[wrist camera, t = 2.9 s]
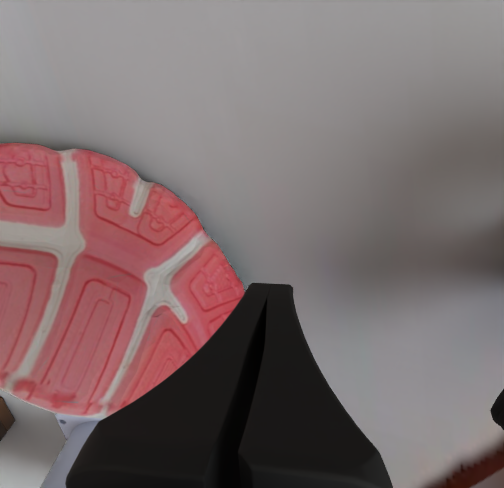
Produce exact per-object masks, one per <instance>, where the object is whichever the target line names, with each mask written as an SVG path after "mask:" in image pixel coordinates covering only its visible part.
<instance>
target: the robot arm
mask: <svg viewBox="0 0 504 488" xmlns="http://www.w3.org/2000/svg"><path fill="white" fill-rule="evenodd" d="M55 417H56V419H57V421H58V423H59V426H60V428H61V430H62V432H63V434H64V436H65V438H66V440H67V441H66V443H65V445H64V446H63V448H62V450H61V452H60V453H59V455H58V457H57V459H56V460H55V462H54V464H53V466H52V467H51V469H50V471H49V473H48V474H47V476H46V478H45V480H44V481H43V483H42V485H41V487H40V488H393V486H392V483H391V480H390V477H389V475H388V472H387V470H386V467H385V465H384V462H383V460H382V458H381V455H380V453H379V451H378V450H377V449H376V448H375V446H374V445H373V444H372V443H371V442H370V441H369V440H368V438H367V437H366V436H365V435H364V433H363V432H362V431H361V430H360V429H359V427H358V426H357V425H356V424H355V422H354V421H353V420H352V418H351V417H350V416H349V414H348V413H347V412H346V410H345V409H344V407H343V406H342V404H341V403H340V401H339V400H338V398H337V397H336V395H335V394H334V392H333V391H332V389H331V388H330V386H329V385H328V383H327V381H326V379H325V378H324V376H323V374H322V373H321V371H320V369H319V367H318V365H317V363H316V361H315V359H314V357H313V355H312V353H311V351H310V349H309V346H308V344H307V342H306V339H305V337H304V334H303V331H302V329H301V326H300V323H299V320H298V317H297V313H296V309H295V305H294V300H293V287H292V286H291V285H286V284H265V283H252V284H251V285H249V287H248V289H247V290H246V292H245V293H244V295H243V297H242V298H241V300H240V301H239V302H238V304H237V305H236V307H235V308H234V309H233V311H232V312H231V313H230V315H229V316H228V317H227V319H226V320H225V321H224V322H223V324H222V325H221V326H220V327H219V328H218V329H217V331H216V332H215V333H214V334H213V335H212V336H211V337H210V339H209V340H208V341H207V342H206V343H205V344H204V345H203V346H202V347H201V348H200V349H199V350H198V351H197V352H196V353H195V354H194V355H193V356H192V357H191V358H190V359H189V360H188V361H186V362H185V363H184V364H183V365H182V366H181V367H179V368H178V369H177V370H176V371H175V372H174V373H172V374H171V375H170V376H169V377H167V378H166V379H165V380H164V381H162V382H161V383H160V384H158V385H157V386H155V387H154V388H152V389H151V390H150V391H148V392H147V393H145V394H144V395H143V396H141V397H140V398H138V399H137V400H135V401H133V402H132V403H130V404H129V405H127V406H125V407H123V408H122V409H120V410H118V411H116V412H115V413H113V414H111V415H110V416H108V417H106V418H104V419H100V418H85V417H73V416H68V415H62V414H57V413H56V414H55Z"/></svg>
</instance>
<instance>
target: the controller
mask: <svg viewBox="0 0 504 488" xmlns="http://www.w3.org/2000/svg"><path fill="white" fill-rule="evenodd" d="M491 415H492V418H493V420H494V421H495V422H496V423H497V424H498V425H499V426H501V427H502V429H503V430H504V389H503V391H502V392H501V393H500V395H499V396H498V397H497V399H496V401H495V403H494V404H493V406H492V408H491Z"/></svg>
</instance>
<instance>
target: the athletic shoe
mask: <svg viewBox="0 0 504 488" xmlns="http://www.w3.org/2000/svg"><path fill="white" fill-rule="evenodd" d="M244 293H245V291H244V288H243V285H242V282H241V281H240V280H239V278H238V277H237V276H236V274H235V271H234V270H233V268H232V267H231V266H230V264H229V263H228V261H227V259H226V257H225V256H224V254H223V253H222V251H221V249H220V248H219V246H218V244H217V243H215V242H214V241H213V240H212V239H211V238H210V237H209V236H208V235H207V234H206V232H205V231H204V230H203V228H202V226H201V224H200V222H199V220H198V218H197V216H196V215H195V213H194V212H193V211H192V210H191V209H190V208H189V207H188V206H187V205H186V204H185V203H184V202H183V201H182V200H180V199H179V198H178V197H177V196H176V195H175V194H174V193H173V192H171V191H170V190H168V189H167V188H165V187H164V186H162V185H160V184H157V183H154V182H149V183H148V182H146V181H144V180H141V178H140V177H139V176H138V174H137V173H136V171H135V170H133V169H132V168H131V167H129V166H128V165H126V164H124V163H122V162H120V161H118V160H116V159H114V158H112V157H110V156H106V155H103V154H100V153H97V152H93V151H90V150H84V149H75V148H73V149H69V150H64V151H54V150H52V149H50V148H47V147H44V146H41V145H39V144H26V143H1V144H0V390H2V391H5V392H6V393H8V394H10V395H12V396H14V397H16V398H18V399H19V400H21V401H23V402H26V403H29V404H31V405H34V406H36V407H39V408H42V409H44V410H47V411H50V412H53V413H57V414H62V415H68V416H73V417H85V418H100V419H104V418H106V417H108V416H110V415H111V414H113V413H115V412H116V411H118V410H120V409H122V408H123V407H125V406H127V405H129V404H130V403H132V402H133V401H135V400H137V399H138V398H140V397H141V396H143V395H144V394H145V393H147V392H148V391H150V390H151V389H152V388H154V387H155V386H157V385H158V384H160V383H161V382H162V381H164V380H165V379H166V378H167V377H169V376H170V375H171V374H172V373H174V372H175V371H176V370H177V369H178V368H179V367H181V366H182V365H183V364H184V363H185V362H186V361H188V360H189V359H190V358H191V357H192V356H193V355H194V354H195V353H196V352H197V351H198V350H199V349H200V348H201V347H202V346H203V345H204V344H205V343H206V342H207V341H208V340H209V339H210V337H211V336H212V335H213V334H214V333H215V332H216V331H217V329H218V328H219V327H220V326H221V325H222V324H223V322H224V321H225V320H226V319H227V317H228V316H229V315H230V313H231V312H232V311H233V309H234V308H235V307H236V305H237V304H238V302H239V301H240V300H241V298H242V297H243V295H244Z"/></svg>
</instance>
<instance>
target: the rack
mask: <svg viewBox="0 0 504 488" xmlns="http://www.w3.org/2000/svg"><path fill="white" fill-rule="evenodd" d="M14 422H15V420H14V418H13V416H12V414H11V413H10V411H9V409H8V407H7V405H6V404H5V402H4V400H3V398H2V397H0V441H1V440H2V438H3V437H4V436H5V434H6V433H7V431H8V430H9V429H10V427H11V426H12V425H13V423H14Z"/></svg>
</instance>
